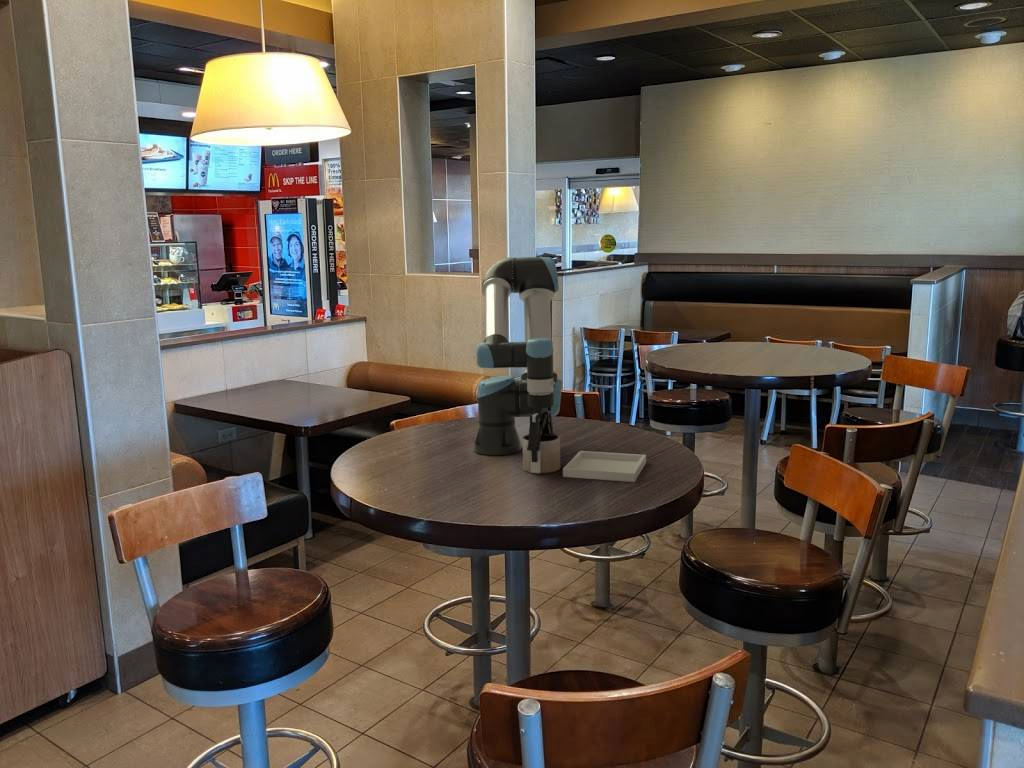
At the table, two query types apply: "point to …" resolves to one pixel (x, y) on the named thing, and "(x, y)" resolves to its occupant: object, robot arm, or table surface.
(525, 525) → the table surface
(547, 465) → the planter
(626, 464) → the tray
